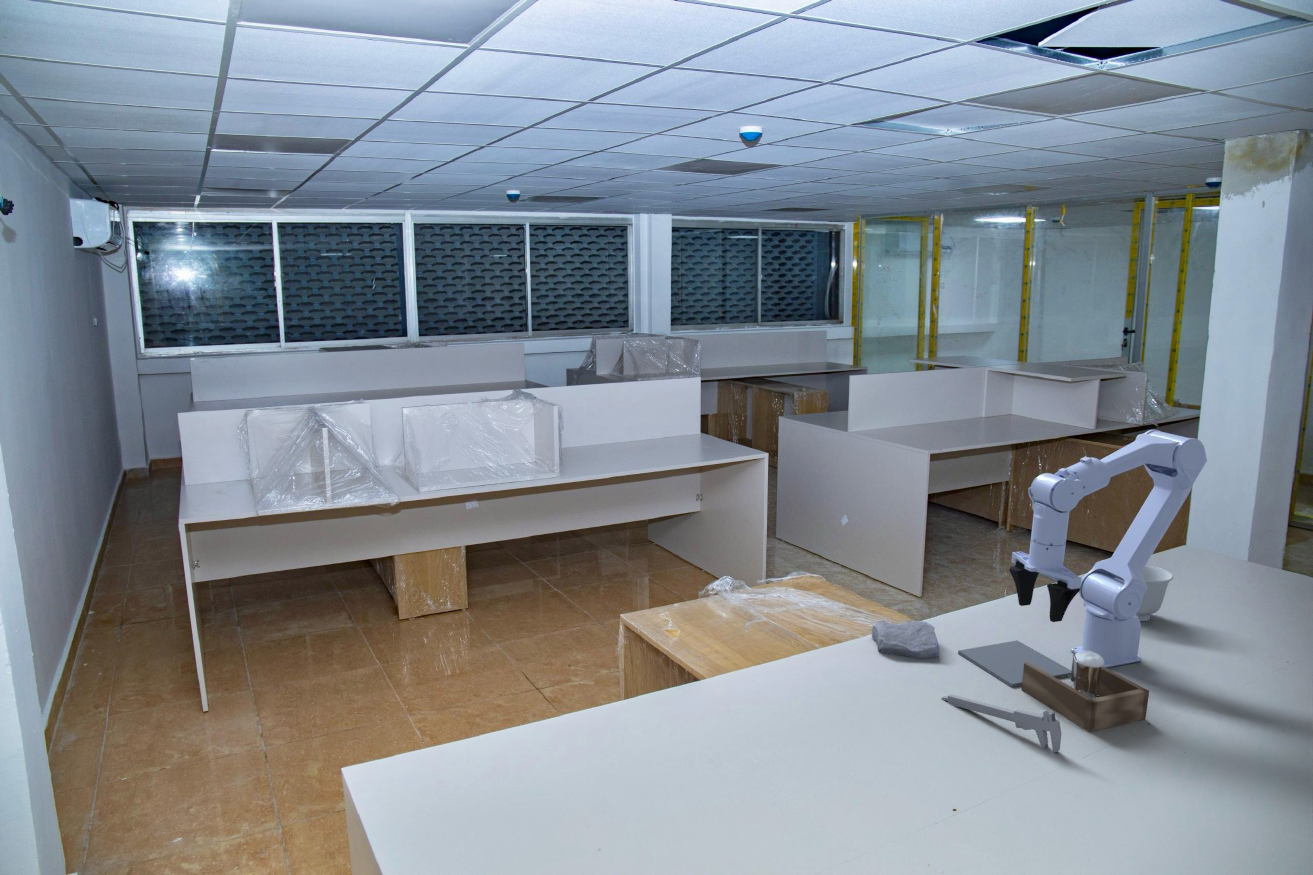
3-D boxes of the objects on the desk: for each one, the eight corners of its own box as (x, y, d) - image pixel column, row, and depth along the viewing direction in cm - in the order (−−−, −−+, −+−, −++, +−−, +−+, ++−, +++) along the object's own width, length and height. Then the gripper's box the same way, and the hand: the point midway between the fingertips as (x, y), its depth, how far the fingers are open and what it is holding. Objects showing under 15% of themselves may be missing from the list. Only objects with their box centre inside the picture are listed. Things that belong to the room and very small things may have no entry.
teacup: (1101, 596, 191) (1106, 554, 189) (1175, 616, 180) (1181, 571, 178) (1079, 610, 183) (1084, 566, 181) (1155, 632, 172) (1161, 585, 170)
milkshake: (1058, 697, 146) (1064, 643, 144) (1088, 696, 146) (1095, 642, 144) (1073, 711, 141) (1080, 655, 139) (1104, 710, 142) (1111, 654, 140)
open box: (1074, 679, 152) (1077, 652, 151) (1145, 719, 139) (1149, 690, 138) (1021, 689, 148) (1024, 662, 147) (1088, 731, 135) (1092, 702, 134)
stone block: (942, 668, 160) (931, 636, 169) (944, 647, 158) (933, 616, 168) (877, 667, 162) (870, 635, 171) (878, 646, 160) (871, 615, 169)
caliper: (1059, 753, 130) (1064, 715, 128) (1055, 755, 129) (1060, 717, 128) (944, 698, 146) (947, 664, 144) (940, 700, 145) (943, 666, 144)
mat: (1016, 643, 167) (1017, 640, 167) (1073, 675, 154) (1074, 672, 154) (958, 653, 162) (958, 650, 162) (1011, 687, 149) (1011, 684, 149)
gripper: (1001, 530, 158) (994, 600, 161) (1061, 555, 145) (1052, 631, 147) (1031, 527, 161) (1024, 596, 163) (1094, 552, 147) (1084, 626, 150)
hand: (1039, 612), depth 155 cm, fingers open, 7 cm apart
